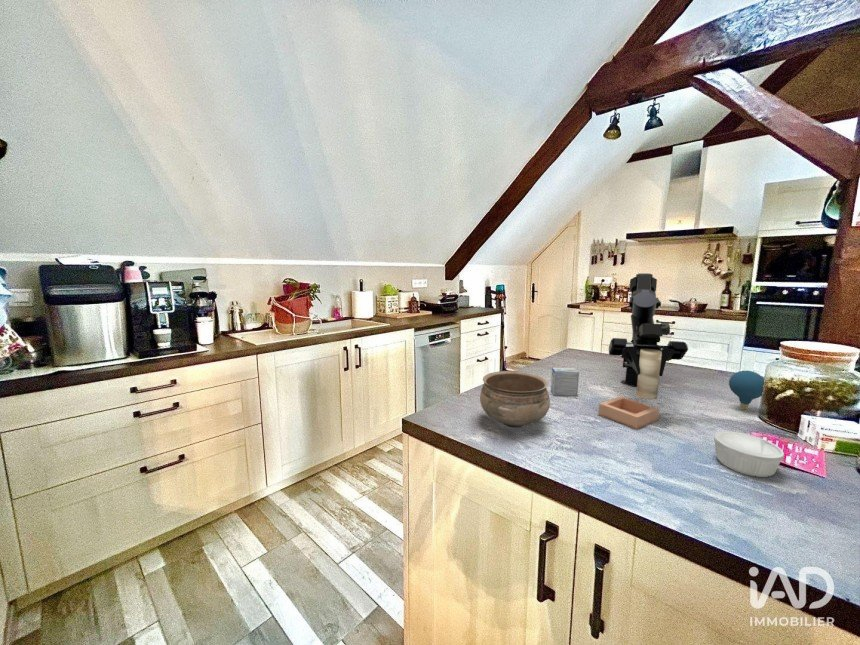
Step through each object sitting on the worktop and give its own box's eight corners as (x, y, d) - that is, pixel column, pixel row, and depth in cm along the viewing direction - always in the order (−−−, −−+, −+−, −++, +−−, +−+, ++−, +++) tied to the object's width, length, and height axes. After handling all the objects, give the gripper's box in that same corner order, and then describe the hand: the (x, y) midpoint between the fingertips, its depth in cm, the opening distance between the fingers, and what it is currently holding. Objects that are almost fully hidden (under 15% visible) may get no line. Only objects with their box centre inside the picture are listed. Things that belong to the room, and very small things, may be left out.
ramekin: (795, 484, 70) (799, 459, 69) (731, 478, 72) (735, 454, 71) (755, 454, 81) (758, 433, 80) (701, 450, 83) (703, 429, 82)
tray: (620, 406, 108) (621, 396, 107) (658, 420, 98) (659, 408, 98) (598, 414, 102) (599, 403, 102) (636, 429, 93) (637, 417, 92)
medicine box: (573, 391, 121) (575, 367, 119) (577, 396, 116) (579, 371, 115) (550, 391, 122) (551, 367, 120) (553, 395, 117) (554, 371, 116)
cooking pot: (492, 401, 113) (493, 364, 111) (554, 411, 105) (556, 372, 103) (466, 434, 91) (466, 390, 89) (541, 450, 83) (544, 402, 81)
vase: (642, 391, 101) (646, 348, 99) (660, 396, 97) (665, 351, 95) (632, 395, 99) (636, 350, 97) (651, 400, 94) (656, 354, 92)
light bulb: (753, 405, 108) (759, 368, 106) (769, 417, 100) (775, 376, 98) (720, 402, 110) (725, 366, 108) (733, 413, 103) (739, 374, 101)
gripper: (613, 310, 101) (617, 357, 92) (689, 313, 95) (701, 363, 86) (606, 332, 109) (610, 376, 101) (676, 335, 104) (686, 383, 95)
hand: (649, 374), depth 96 cm, fingers closed on vase, 5 cm apart
